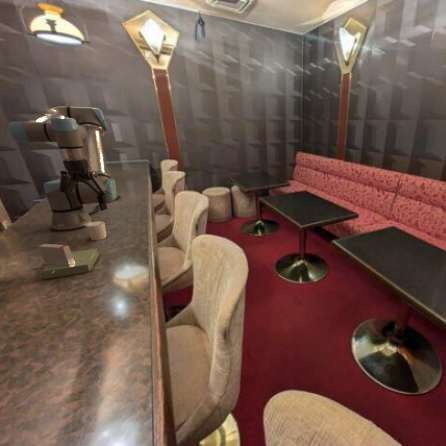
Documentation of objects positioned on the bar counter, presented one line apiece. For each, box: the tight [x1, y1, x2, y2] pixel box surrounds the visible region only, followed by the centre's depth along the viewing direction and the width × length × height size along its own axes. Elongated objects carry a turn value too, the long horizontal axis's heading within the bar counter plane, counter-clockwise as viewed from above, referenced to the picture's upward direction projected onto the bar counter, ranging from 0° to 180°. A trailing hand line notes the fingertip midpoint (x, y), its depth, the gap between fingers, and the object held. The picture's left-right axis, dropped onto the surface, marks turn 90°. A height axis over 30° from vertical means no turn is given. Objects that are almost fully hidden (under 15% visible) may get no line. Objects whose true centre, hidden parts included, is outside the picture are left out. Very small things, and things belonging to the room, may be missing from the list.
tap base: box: [34, 248, 99, 280], centre depth 88 cm, size 16×15×3 cm
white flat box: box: [38, 243, 75, 266], centre depth 85 cm, size 9×2×7 cm, turn 85°
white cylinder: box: [85, 220, 107, 241], centre depth 112 cm, size 7×7×7 cm
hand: (89, 209), depth 107 cm, fingers open, 13 cm apart
